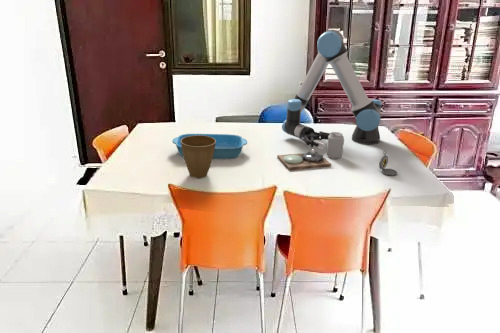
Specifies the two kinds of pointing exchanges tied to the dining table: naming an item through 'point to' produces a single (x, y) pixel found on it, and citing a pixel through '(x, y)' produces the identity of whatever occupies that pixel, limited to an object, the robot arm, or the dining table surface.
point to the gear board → (303, 163)
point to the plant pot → (198, 154)
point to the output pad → (292, 159)
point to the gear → (312, 156)
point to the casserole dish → (219, 145)
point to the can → (335, 145)
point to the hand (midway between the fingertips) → (333, 144)
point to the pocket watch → (384, 162)
